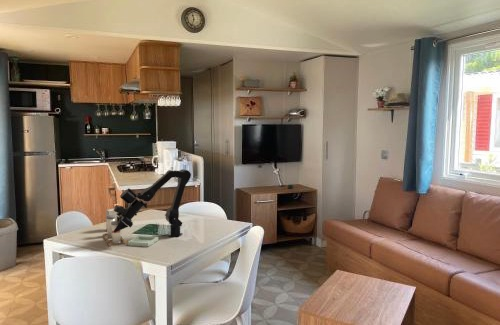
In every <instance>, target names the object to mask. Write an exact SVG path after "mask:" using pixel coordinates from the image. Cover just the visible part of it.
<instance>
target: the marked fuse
mask: <svg viewBox="0 0 500 325" xmlns="http://www.w3.org/2000/svg"><path fill="white" fill-rule="evenodd" d="M118 224H119V221H112V222H111V225H112V238H111V240H112V242H111V244H115V243H122V241H121V237H122V236H121V237H120V235H121V230H120V231H117V232H114V230H115V228H116V227H117V225H118Z"/></svg>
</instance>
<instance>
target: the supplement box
mask: <svg viewBox="0 0 500 325" xmlns="http://www.w3.org/2000/svg"><path fill="white" fill-rule="evenodd" d="M116 213H117V212H115V211H114V208H108V209H105V223H106V228H107V216H108V215H115V221H117V216H118V215H117V214H116Z"/></svg>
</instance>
